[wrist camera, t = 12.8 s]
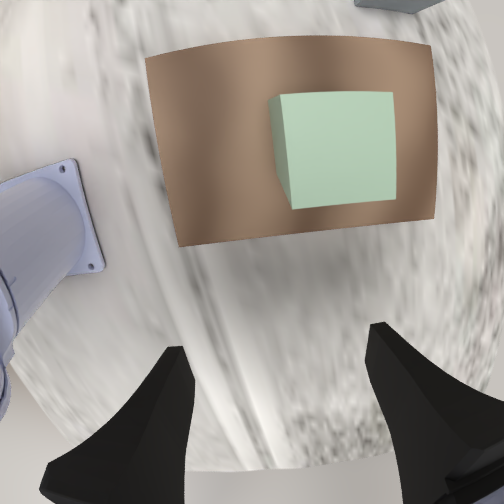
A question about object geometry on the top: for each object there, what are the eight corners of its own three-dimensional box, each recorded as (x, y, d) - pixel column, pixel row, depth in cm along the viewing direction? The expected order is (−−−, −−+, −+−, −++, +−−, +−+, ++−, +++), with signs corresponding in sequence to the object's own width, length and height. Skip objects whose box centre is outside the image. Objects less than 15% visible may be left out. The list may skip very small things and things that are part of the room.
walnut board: (183, 236, 19) (179, 247, 18) (152, 61, 15) (144, 58, 13) (423, 211, 19) (433, 218, 17) (418, 48, 14) (430, 45, 13)
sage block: (276, 173, 16) (292, 209, 11) (267, 99, 14) (280, 94, 9) (348, 167, 16) (396, 199, 11) (343, 95, 14) (392, 92, 9)
